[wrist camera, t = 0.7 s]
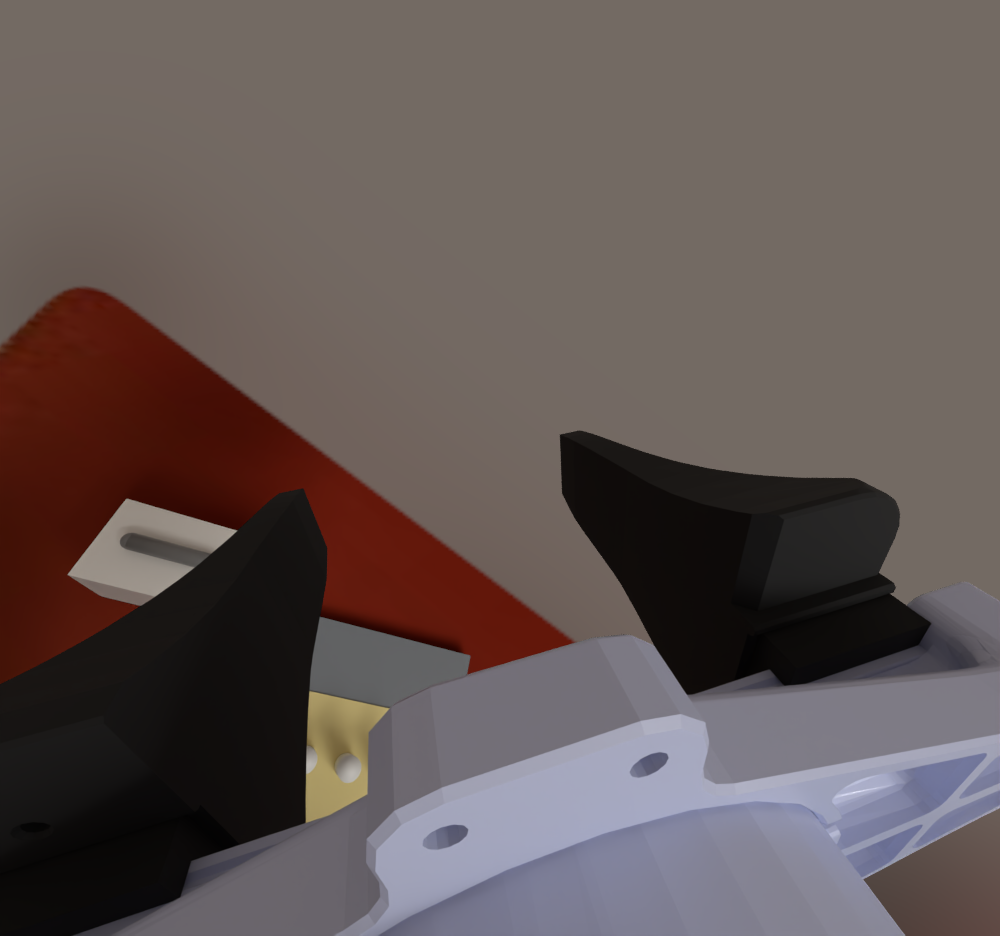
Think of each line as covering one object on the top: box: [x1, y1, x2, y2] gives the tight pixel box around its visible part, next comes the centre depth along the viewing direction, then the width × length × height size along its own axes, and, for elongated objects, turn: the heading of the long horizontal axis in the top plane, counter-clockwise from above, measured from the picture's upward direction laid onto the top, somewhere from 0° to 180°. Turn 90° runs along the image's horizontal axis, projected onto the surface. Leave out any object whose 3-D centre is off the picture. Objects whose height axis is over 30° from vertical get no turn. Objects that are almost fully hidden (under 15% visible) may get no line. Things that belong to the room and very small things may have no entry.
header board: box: [306, 617, 470, 823], centre depth 21 cm, size 13×11×4 cm
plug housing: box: [68, 499, 237, 606], centre depth 22 cm, size 4×8×5 cm, turn 80°
